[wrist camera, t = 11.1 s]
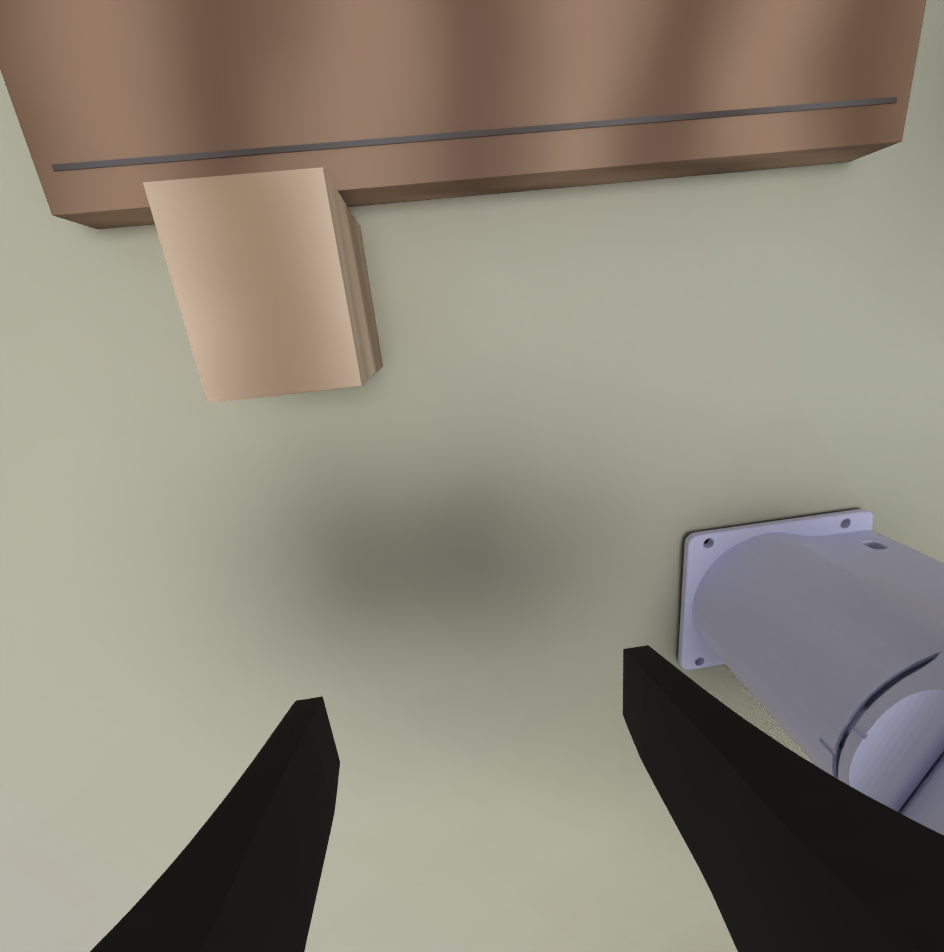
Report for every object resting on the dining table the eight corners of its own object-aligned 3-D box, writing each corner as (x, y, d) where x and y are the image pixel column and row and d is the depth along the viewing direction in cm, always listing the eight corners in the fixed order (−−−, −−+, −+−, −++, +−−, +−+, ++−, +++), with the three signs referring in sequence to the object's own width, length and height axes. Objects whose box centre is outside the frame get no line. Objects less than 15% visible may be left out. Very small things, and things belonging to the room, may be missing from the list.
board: (884, -80, 15) (952, -141, 13) (849, 161, 17) (903, 140, 15) (10, -34, 13) (-60, -95, 11) (97, 228, 16) (50, 214, 14)
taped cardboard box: (359, 219, 16) (320, 154, 10) (383, 366, 18) (362, 385, 12) (247, 229, 16) (138, 169, 10) (282, 377, 18) (207, 403, 12)
